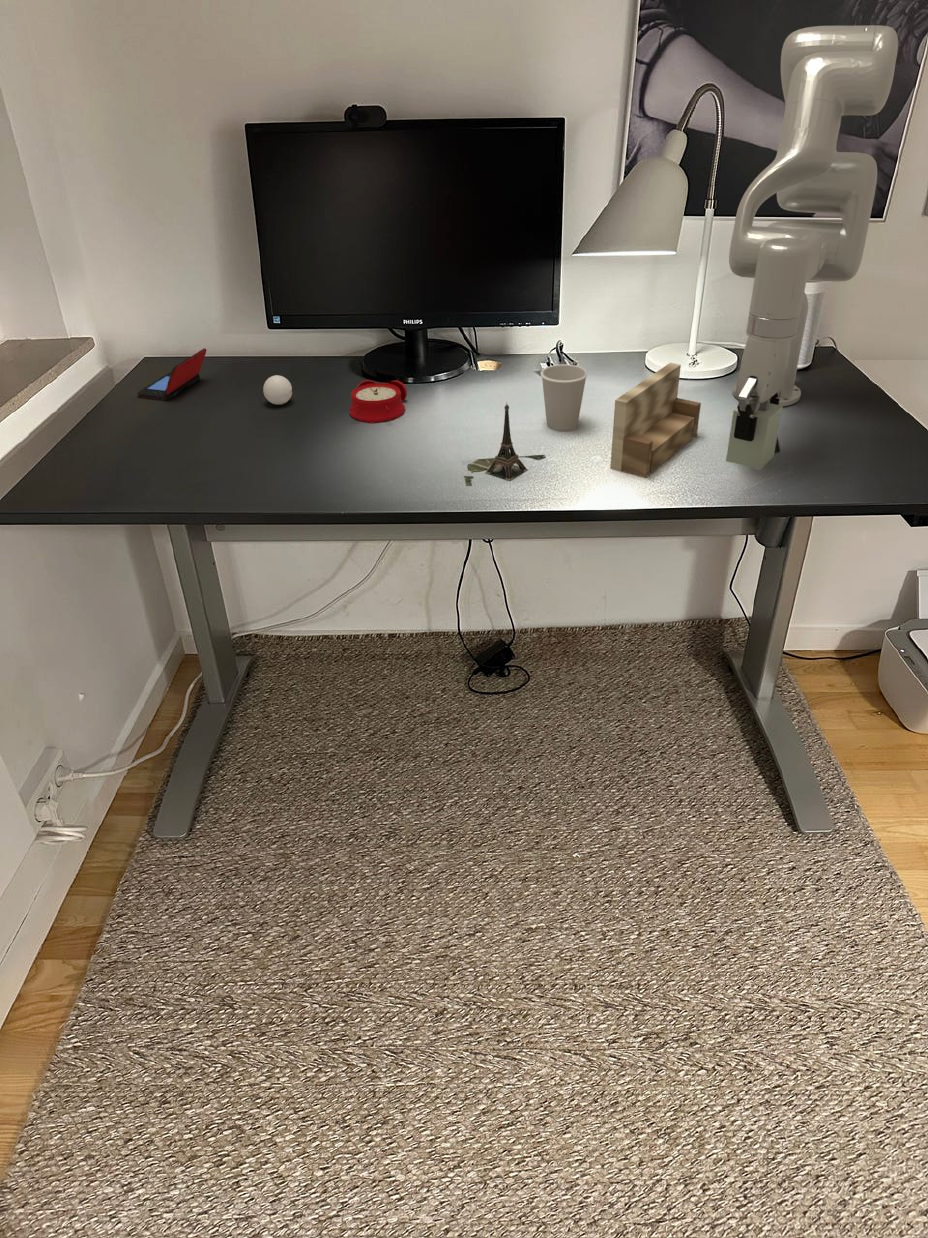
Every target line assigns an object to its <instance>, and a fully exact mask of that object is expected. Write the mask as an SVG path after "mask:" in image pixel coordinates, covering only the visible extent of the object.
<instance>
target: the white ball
mask: <svg viewBox="0 0 928 1238" xmlns="http://www.w3.org/2000/svg"><path fill="white" fill-rule="evenodd" d="M262 389H263V395H264V397H265V398H266V400H267V401H268V402H269V403H271V404H272V405H278V406H279V405H284V404H286V403H288V401H290V399H291V397H292V395H293V390H294V389H293V386H292V383H291V382H290V381H289V379H288V378H286V377H284V376H283V375H278V374H276V375H272V376H270V377H268V378H267V379H266V381H265V382H264V384H263V388H262Z"/></svg>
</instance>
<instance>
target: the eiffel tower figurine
mask: <svg viewBox="0 0 928 1238" xmlns="http://www.w3.org/2000/svg"><path fill="white" fill-rule="evenodd" d="M509 409H510V406H509V404H508V403H506V404H505V405H504V420H503V421H504V422H503V432H502V433H503V434H502V440H501V443H500V448H499V450H498V453H497V455H496V456H495V457H490V458H489V457H488V458H477V459H476V460H474V461H472V462H470V463H468V464H467V466H466V468H467V471H468V472H470V473H471V474H473V473H481V472H484V474H486V475H488V476H492V477H494V478H498V479H501V480H504V481H507V482H512V481H513V480H515V479H517V478H519V477H520V476H521V475H523V474H524V473H526V472H528V471H529V469H528V468H527V467H526V466H525V464H524V463H522V461H521V460H520V458H525V459H526V458H527V459H528V458H529V459H532V460H535V461H542V460H545V459H547V456H546V454H534V455H533V454H531V455H523V456H521V455H520V456H519V454H517V453H516V450H515V448H514V445H513V444H514V443H513V441H512V437H511V429H510V415H509ZM463 478H464V481H465V485H466V486H467V487H472V486H473V484H472V483H473V482H472V479H474V476H473V475H472V476H471V475H470V476H468V475H463Z"/></svg>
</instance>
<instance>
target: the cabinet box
mask: <svg viewBox="0 0 928 1238" xmlns="http://www.w3.org/2000/svg"><path fill="white" fill-rule="evenodd" d="M750 397H754V398H758V397H757V396H752V395H751V396H750ZM748 404H750V405H751V408H752V409H753V406H754V403H748ZM783 408H784V406H780V405H775V404H771V403H770V399H768V400H767V401H765V402H764V403H761V404H760V406H759V408H758V411H757V414H756V416H755V417H758V418H757V424H756V430H755V436H754V440H753V441H751V442H750V441H745V440H741V439H737V438H734V431H735V424H736V418H737V410H738V408H737V407H736V408H735V409H733V413H732V419H731V425H730V432H729V439H728V445H727V452H726V458H725V462H729V463H734V464H737V465H741V466H744V467H749V468H752V469H756V470H762V469H763V467H765V466H766V465H767V464H768V462H769V461H771V460H772V459H773V458H774V457H775V456H774V455H775V453H774V452H775V446H776V441H777V436H779V435H778V434H779V429H780V424H781V418H782V413H783Z"/></svg>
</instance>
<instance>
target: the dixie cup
mask: <svg viewBox="0 0 928 1238" xmlns="http://www.w3.org/2000/svg"><path fill="white" fill-rule="evenodd" d="M540 376H541V380H542V389H543V390H542V391H543V401H544V408H545V409H544V410H545V421H546V426H547V428H548V429H550V430H553V431H557V432H569V431H573V430H575V429H577V427H578V426H579V420H580V419H579V418H580V415H581V414H580V413H581V408H582V403H583V402H582V401H583V397H584V391H585V384H586V379H587V377H588V371H587V370H586V369H585V368H584V367H582V366H579V365H575V364H568V363H567V364H565V363H564V364H563V363H561V364H555V365H554V364H553V365H550V366H547V367H545V368H543V369H542V370H541V371H540Z"/></svg>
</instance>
